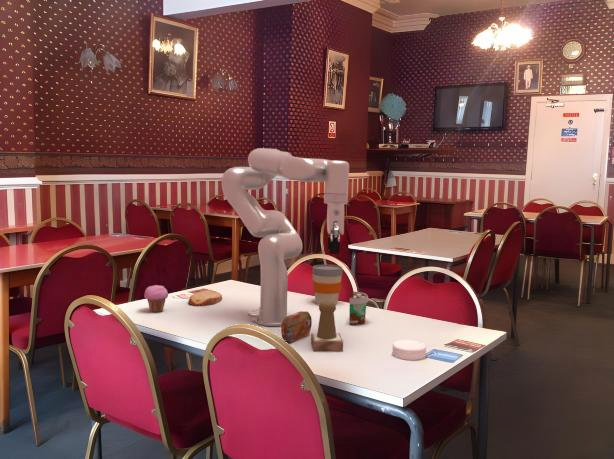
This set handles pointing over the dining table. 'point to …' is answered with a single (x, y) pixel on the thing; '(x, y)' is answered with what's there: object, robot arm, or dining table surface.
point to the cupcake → (156, 297)
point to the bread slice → (205, 298)
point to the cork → (326, 320)
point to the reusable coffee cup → (326, 282)
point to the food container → (358, 308)
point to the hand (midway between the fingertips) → (333, 251)
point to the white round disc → (409, 350)
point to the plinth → (326, 343)
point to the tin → (296, 326)
